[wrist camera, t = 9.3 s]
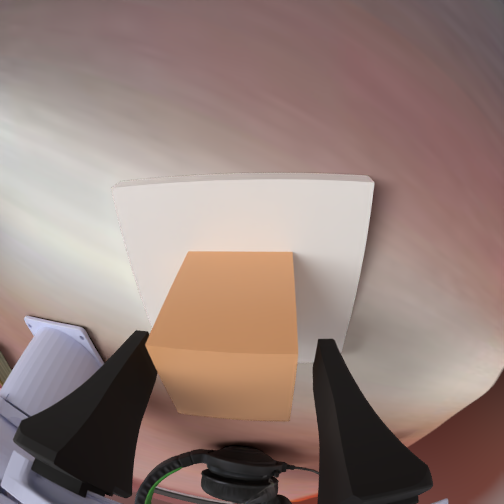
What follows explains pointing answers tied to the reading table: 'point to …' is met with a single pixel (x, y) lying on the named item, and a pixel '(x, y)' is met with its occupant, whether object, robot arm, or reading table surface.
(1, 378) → the hardcover book
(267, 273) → the tan wooden cube
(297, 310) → the post plate
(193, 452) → the headset
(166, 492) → the smartphone
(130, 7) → the reading table surface
